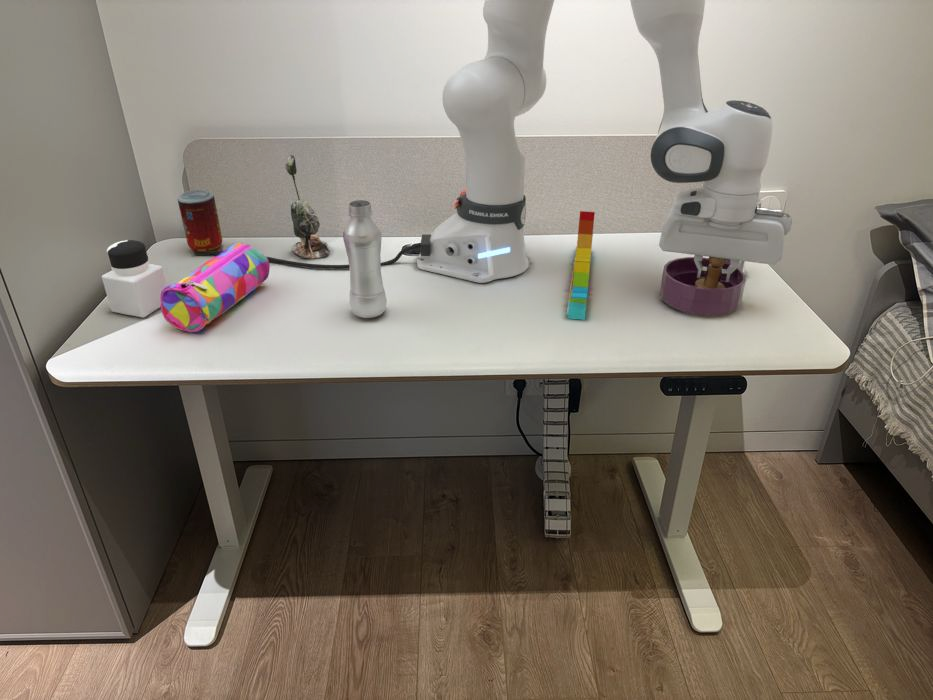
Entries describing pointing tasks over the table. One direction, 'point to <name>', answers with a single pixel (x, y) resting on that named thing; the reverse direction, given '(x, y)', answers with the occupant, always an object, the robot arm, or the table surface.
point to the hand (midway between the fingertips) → (712, 279)
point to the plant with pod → (305, 223)
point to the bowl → (699, 289)
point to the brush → (712, 275)
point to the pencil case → (214, 287)
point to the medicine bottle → (133, 280)
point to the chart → (581, 267)
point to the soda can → (200, 220)
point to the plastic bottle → (364, 261)
